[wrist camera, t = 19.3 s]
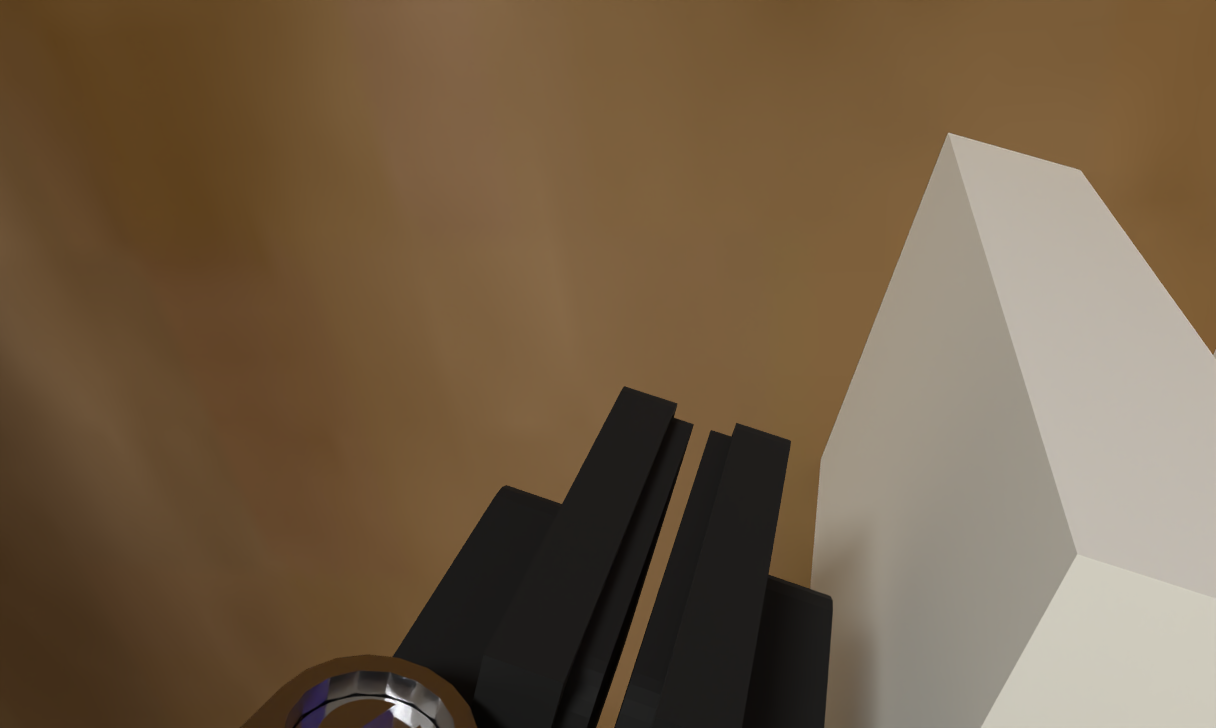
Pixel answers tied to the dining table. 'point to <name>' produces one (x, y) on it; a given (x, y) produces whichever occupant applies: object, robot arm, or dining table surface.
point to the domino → (1021, 473)
